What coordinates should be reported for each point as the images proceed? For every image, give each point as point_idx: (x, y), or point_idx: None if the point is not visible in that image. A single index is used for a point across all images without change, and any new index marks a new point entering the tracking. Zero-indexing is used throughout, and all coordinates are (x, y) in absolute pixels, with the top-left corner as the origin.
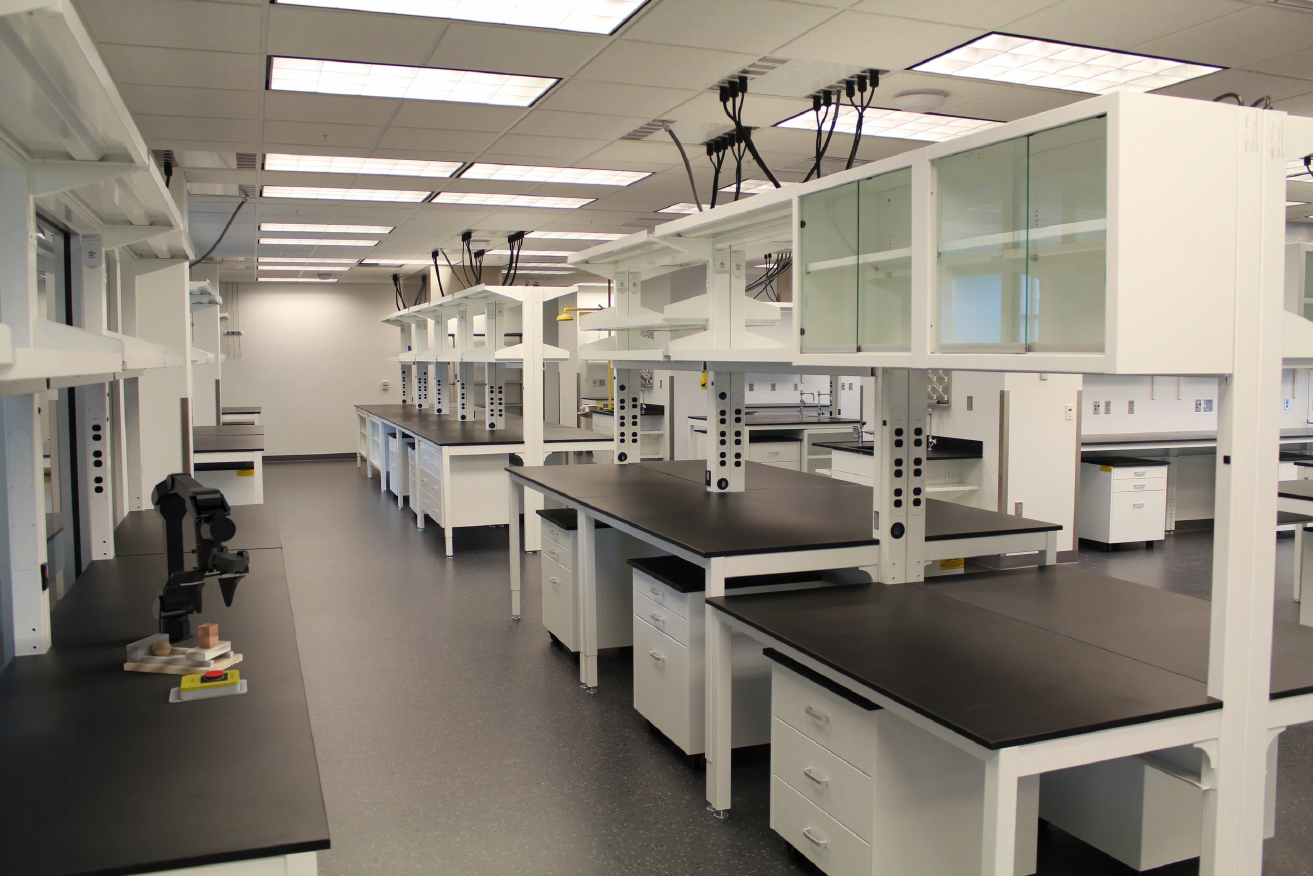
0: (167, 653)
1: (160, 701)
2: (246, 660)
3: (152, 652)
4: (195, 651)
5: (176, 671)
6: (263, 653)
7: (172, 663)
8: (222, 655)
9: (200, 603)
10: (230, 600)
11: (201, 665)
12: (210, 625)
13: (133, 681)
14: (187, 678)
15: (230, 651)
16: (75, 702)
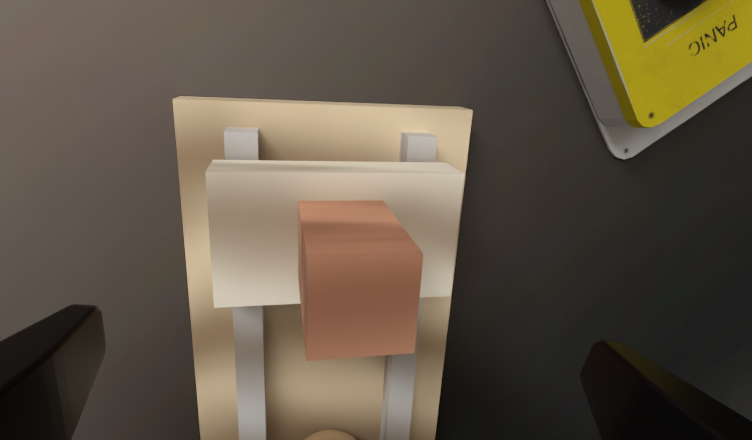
0: (332, 430)
1: (744, 110)
2: (173, 72)
3: None
4: (447, 244)
5: None
6: (6, 46)
7: None
8: None
9: (727, 416)
10: (45, 352)
11: None
12: (366, 284)
13: (532, 362)
14: (681, 84)
15: (234, 146)
16: (717, 373)
